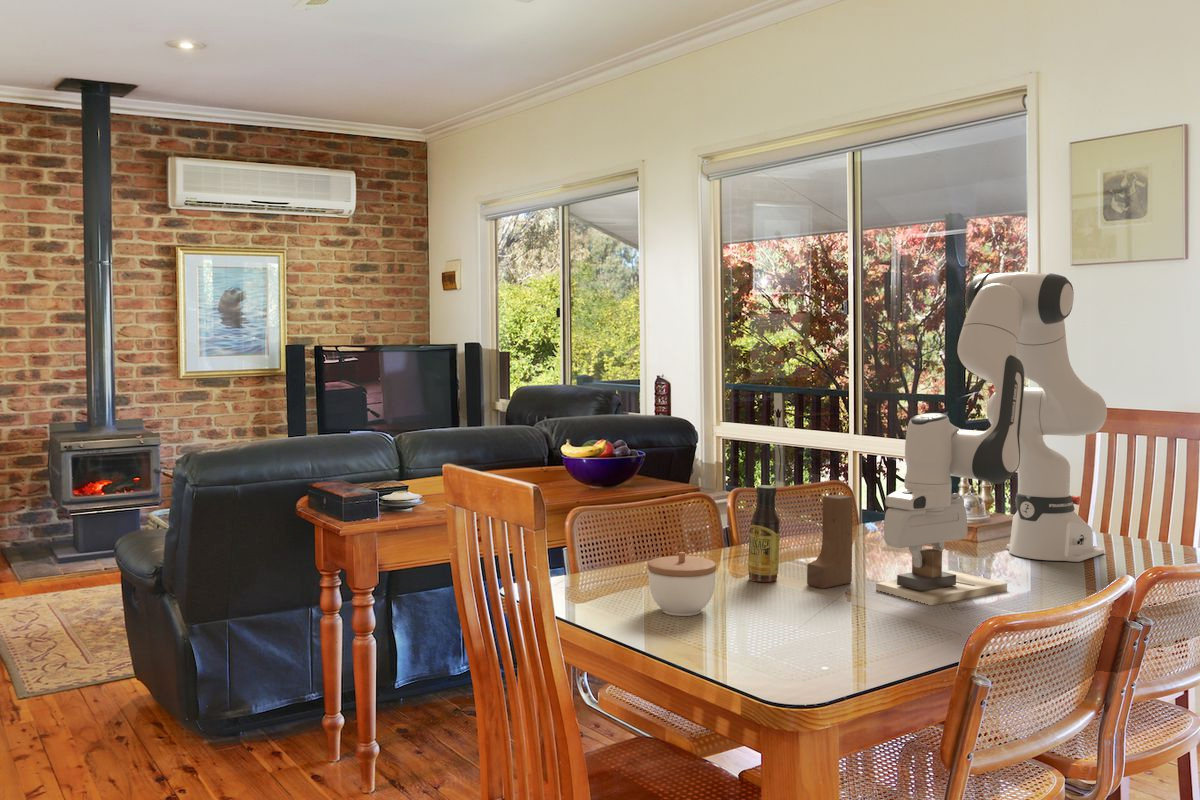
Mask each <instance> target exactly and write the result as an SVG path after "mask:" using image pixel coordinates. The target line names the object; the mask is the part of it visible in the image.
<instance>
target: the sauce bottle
mask: <svg viewBox="0 0 1200 800" xmlns="http://www.w3.org/2000/svg"><path fill="white" fill-rule="evenodd" d="M756 494H757V496H756V497H757V498H756V507H755V510H754V514H753V516H752V519H751V523H750V525H749V538H748V539H749V540H748V541H749V542H748V546H749V547H748V567H747V570H748V571H747V572H748V578H749V580H751V581H754V582H757V583H767V584H768V583H771V582H776V581H777V579H778V574H779V564H780V563H779V559H780V538H781V537H780V536H781V532H780V527H781V526H780V524H781V523H780V522H781V520H780V516H779V514H778V512H777V510H776V495H777V486H774V485H772V484H771V485H768V484H767V485H766V484H761V485H760V484H759V485H757V486H756Z"/></svg>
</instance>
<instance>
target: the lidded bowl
mask: <svg viewBox="0 0 1200 800" xmlns="http://www.w3.org/2000/svg"><path fill="white" fill-rule="evenodd" d="M647 570H648V585H649V591H650V593H651V596H652V599H653V601H654V602H655V604H656V605H657V606H658V607H660V609H662V613H664V614H666V615H669V616H674V617H693V616H696V615H699V614H701V613H702V610H703V609H704V608H705V607H706V606H707V605H708V604H709V603H710V601H711V599H712V597H713V594H714V591H715V583H716V570H717V564H716V563H715V561H714V560H712V559H708V558H705V557H699V556H692V555H686V552H685V551H680V552H679V551H678V555H669V556H661V557H655V558H653V559H651V560H649V561H648V562H647Z"/></svg>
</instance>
